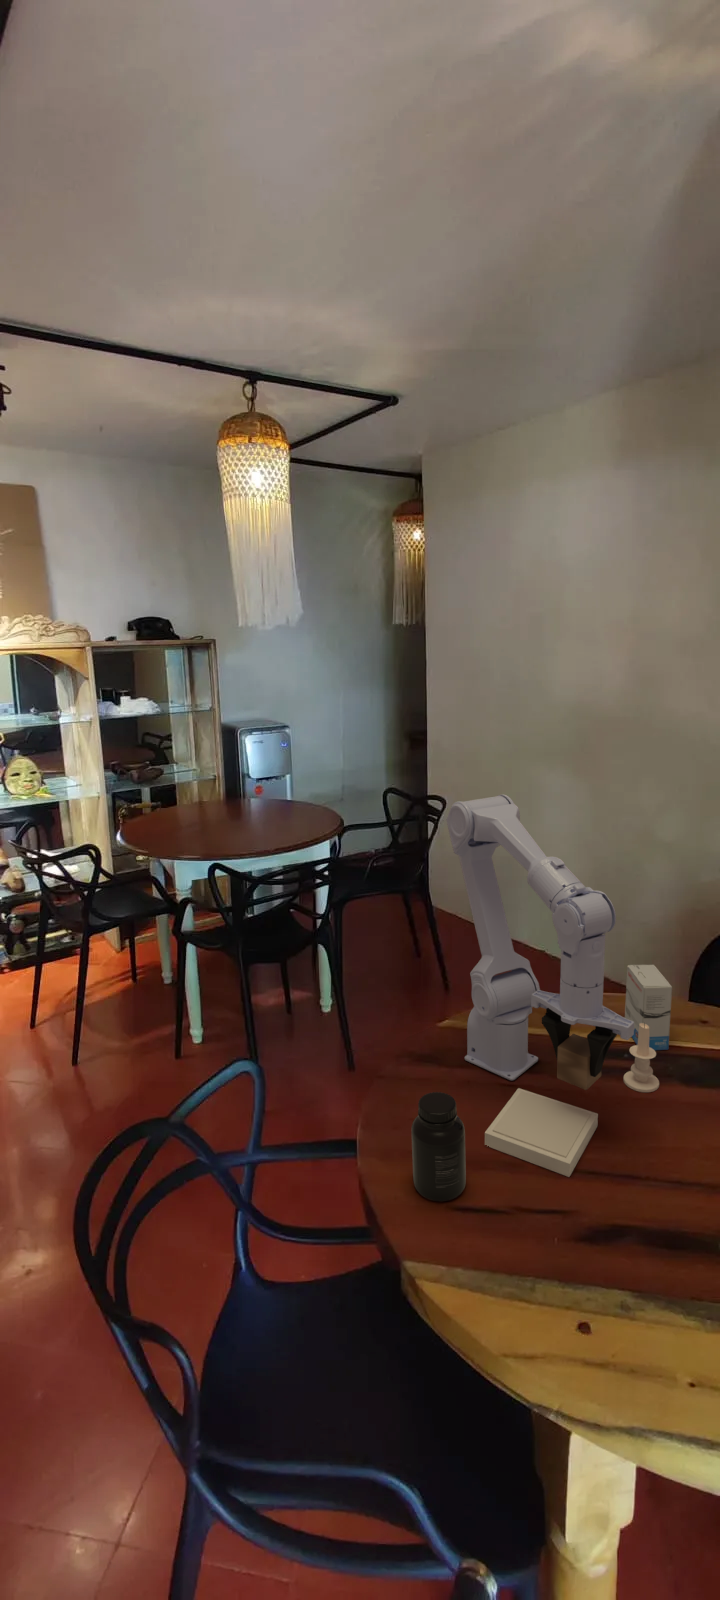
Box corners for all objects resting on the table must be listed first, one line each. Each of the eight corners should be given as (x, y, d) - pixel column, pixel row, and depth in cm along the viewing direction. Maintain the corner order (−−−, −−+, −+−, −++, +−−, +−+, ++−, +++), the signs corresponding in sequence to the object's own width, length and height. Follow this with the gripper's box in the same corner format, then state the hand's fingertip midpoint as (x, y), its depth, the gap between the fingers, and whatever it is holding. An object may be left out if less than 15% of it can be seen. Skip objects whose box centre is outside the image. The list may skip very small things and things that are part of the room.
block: (556, 1078, 108) (557, 1046, 107) (572, 1064, 112) (573, 1033, 110) (586, 1090, 105) (587, 1058, 104) (601, 1075, 109) (602, 1044, 107)
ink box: (669, 1050, 127) (673, 986, 124) (639, 1051, 127) (643, 986, 124) (651, 1024, 135) (654, 963, 132) (623, 1025, 135) (626, 963, 132)
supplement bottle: (470, 1171, 101) (470, 1091, 98) (459, 1208, 95) (459, 1124, 92) (420, 1161, 103) (418, 1083, 100) (406, 1197, 97) (404, 1114, 94)
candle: (653, 1073, 121) (657, 1013, 118) (663, 1093, 116) (667, 1031, 113) (619, 1072, 121) (622, 1013, 119) (627, 1092, 116) (631, 1030, 114)
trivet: (484, 1145, 106) (484, 1131, 105) (518, 1099, 115) (518, 1086, 115) (569, 1177, 99) (569, 1162, 99) (597, 1126, 109) (598, 1112, 108)
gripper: (520, 973, 107) (519, 1060, 110) (619, 1006, 97) (615, 1099, 100) (546, 956, 112) (544, 1039, 115) (642, 985, 102) (637, 1075, 105)
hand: (578, 1066), depth 108 cm, fingers closed on block, 4 cm apart
